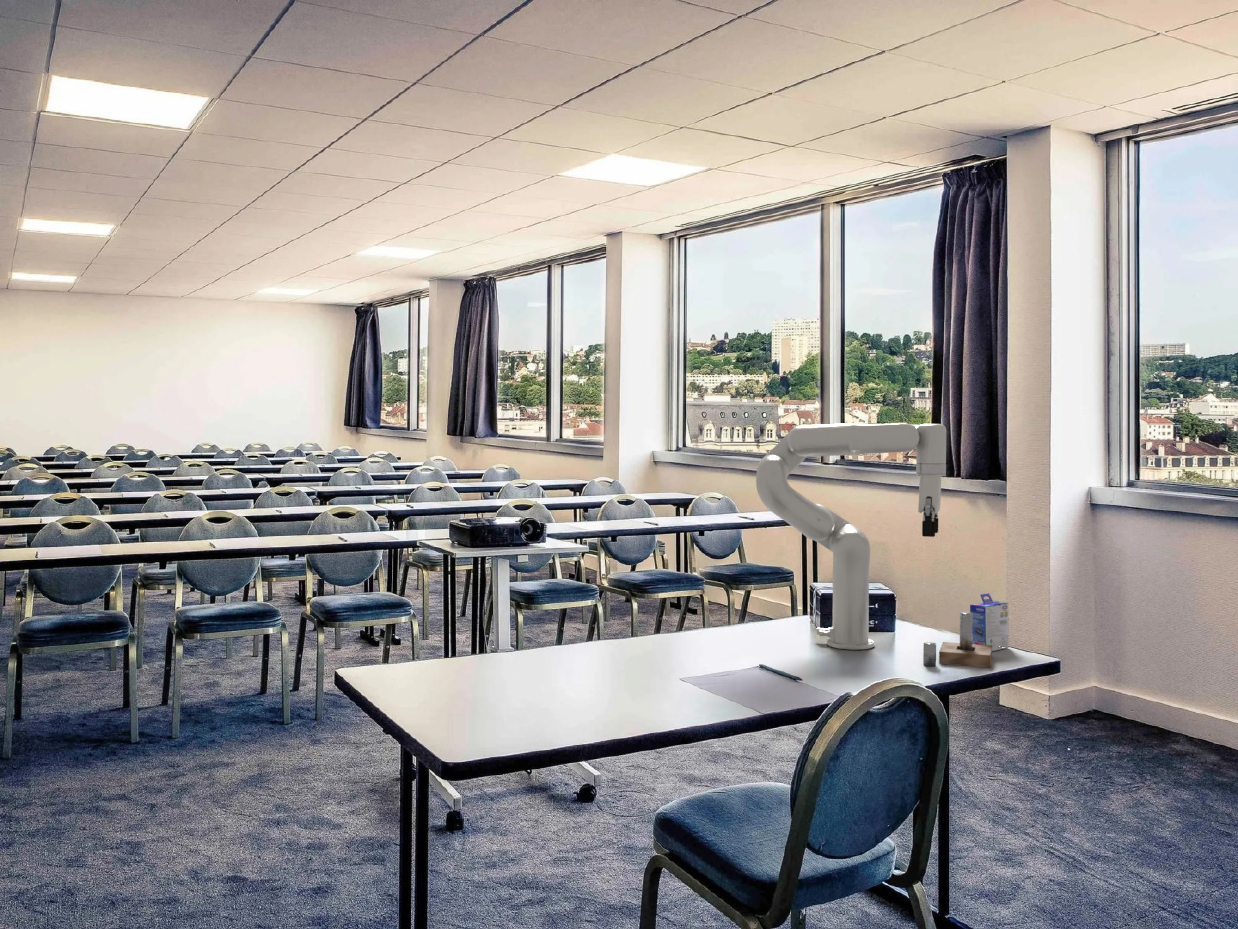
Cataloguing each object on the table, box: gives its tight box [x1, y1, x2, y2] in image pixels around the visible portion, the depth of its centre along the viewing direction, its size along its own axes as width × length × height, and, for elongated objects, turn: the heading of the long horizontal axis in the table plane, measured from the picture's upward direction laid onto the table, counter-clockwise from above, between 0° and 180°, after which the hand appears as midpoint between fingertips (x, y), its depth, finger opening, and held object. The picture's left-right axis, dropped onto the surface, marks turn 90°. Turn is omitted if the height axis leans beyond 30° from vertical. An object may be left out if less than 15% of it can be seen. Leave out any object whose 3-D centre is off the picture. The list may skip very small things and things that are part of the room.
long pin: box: [959, 611, 972, 651], centre depth 262 cm, size 3×3×12 cm
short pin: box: [922, 641, 937, 668], centre depth 256 cm, size 3×3×6 cm
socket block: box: [938, 641, 993, 668], centre depth 262 cm, size 12×12×3 cm
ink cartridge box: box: [969, 593, 1010, 652], centre depth 275 cm, size 10×6×14 cm, turn 124°
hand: (930, 534), depth 275 cm, fingers open, 9 cm apart
